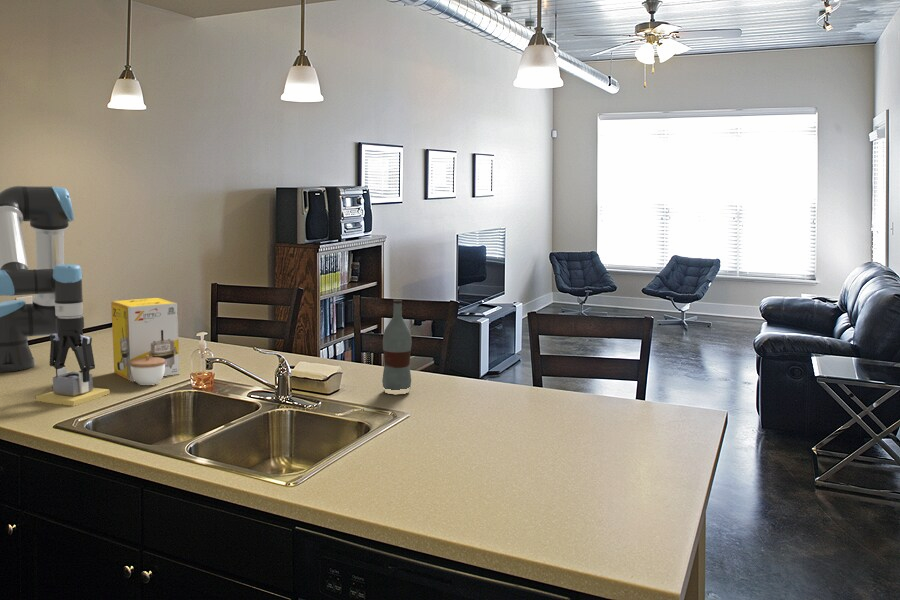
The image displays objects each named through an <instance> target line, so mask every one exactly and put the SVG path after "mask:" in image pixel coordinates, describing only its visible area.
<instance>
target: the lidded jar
mask: <svg viewBox="0 0 900 600" xmlns="http://www.w3.org/2000/svg"><path fill="white" fill-rule="evenodd" d="M130 366H131V374H132V377H133V379H134V380H135V381H134V382H135V383H137V384H138V385H139V384H140V385H152V384H156V383H158V382H159V383H160V382H161V381H162V379H163V378H164V377H163V376H164V373H165V359H163V358H159V357H149V355H147V356H146V358H138V359H134V360H132V361H130ZM159 383H158V384H159ZM140 385H139V386H140Z"/></svg>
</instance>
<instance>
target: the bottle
mask: <svg viewBox="0 0 900 600" xmlns="http://www.w3.org/2000/svg"><path fill="white" fill-rule="evenodd" d="M392 301H393V310H392V311H393V312H392V315H393V317H392V318H391V319H390V321H389V323H388V324H387V326H386V327H385V329H384V331H383V336H382V337H383V338H382V349H383V362H384V363H383V365H384V366H383V373H382V381H381V382H382V388H383V387H384V388H385V389H391V390H400V389H407V388H409V387H410V388H411V385H412V376H411V375H412V374H411V366H410V363H411V353H412V352H411V350H412V333H411V329H410V328H409V326H408V325H407V323H406V321H405V320H404V318H403V316H402V315H403V314H402V313H403V312H402V311H403V310H402V307H403V305H402V303H403V300H402V299H393V300H392Z"/></svg>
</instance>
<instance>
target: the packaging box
mask: <svg viewBox="0 0 900 600" xmlns="http://www.w3.org/2000/svg"><path fill="white" fill-rule="evenodd" d="M110 303H111V323H112V325H111V329H112V331H111V332H112V347H113V348H112V351H113V369H114V371H113V372H114V373H115V374H116V373H117V374H116V375H118V376H120V377H122V378H124V377H125V378H126V379H125V378H124V379H125V380H127V379H128V380H127V381H129V380H130V381H129V382H131V381H132V382H135V381H134V379H133V377H132V374H131V366H130V361H132V360H134V359H138V358H146V356H147V355H149V357H159V358H163V359H165V373H164V376H165V375H172V374H177V373H179V374H180V352H179V349H180V346H179V321H178V319H179V316H178V302H174V301H171V300H167V299H164V298H161V297H152V298H151V297H150V298H137V299H135V298H134V299H127V300H126V299H124V300H113V301H112V300H111V301H110Z"/></svg>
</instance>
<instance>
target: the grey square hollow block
mask: <svg viewBox="0 0 900 600" xmlns="http://www.w3.org/2000/svg"><path fill="white" fill-rule="evenodd" d="M69 376H77V377H75V378H68V377H69ZM89 377H90V380H89V381H88V386H89V391H92V390H93V388H94V384H93V373H89ZM52 386H53V392H54V394H61V395H69V396H75V395H79V394H82V393H80V386H79V371H77V372H76V371H71V372H66V374H63V375H59V376H56V375H55V376H52Z"/></svg>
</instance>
